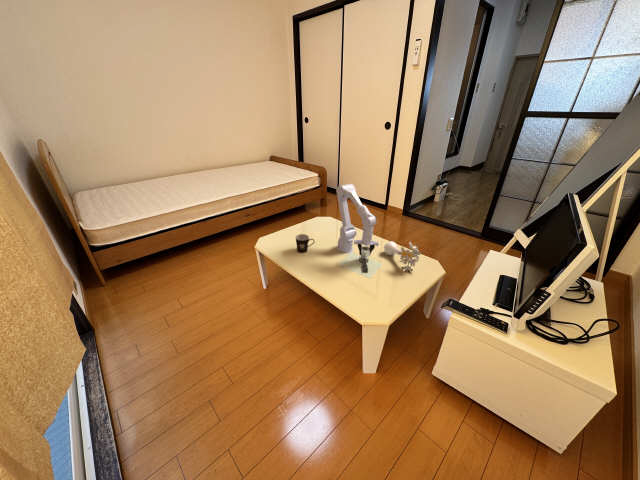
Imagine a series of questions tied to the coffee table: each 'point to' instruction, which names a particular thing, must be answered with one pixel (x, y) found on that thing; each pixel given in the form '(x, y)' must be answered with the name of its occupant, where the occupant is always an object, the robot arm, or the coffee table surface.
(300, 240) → the coffee mug
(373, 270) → the mat
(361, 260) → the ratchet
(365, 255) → the socket
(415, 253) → the flower vase
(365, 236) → the robot arm
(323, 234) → the coffee table surface
